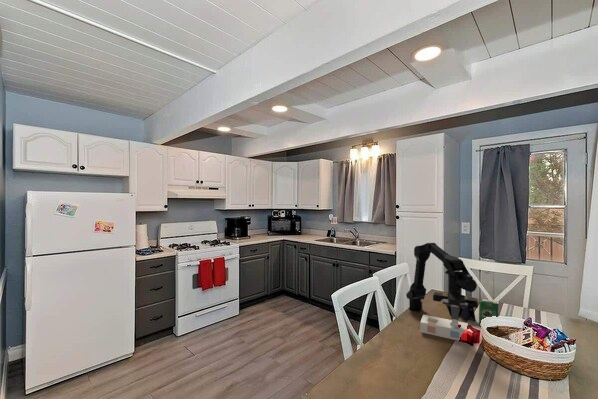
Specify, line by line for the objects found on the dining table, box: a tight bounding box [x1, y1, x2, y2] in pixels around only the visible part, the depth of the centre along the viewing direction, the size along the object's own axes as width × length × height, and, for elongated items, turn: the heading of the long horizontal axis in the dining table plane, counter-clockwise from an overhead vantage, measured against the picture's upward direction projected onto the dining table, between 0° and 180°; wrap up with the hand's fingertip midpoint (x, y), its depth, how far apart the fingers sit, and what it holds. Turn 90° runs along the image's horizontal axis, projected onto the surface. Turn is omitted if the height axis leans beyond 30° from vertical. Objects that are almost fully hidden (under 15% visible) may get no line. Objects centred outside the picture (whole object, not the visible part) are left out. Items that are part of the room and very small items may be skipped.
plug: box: [450, 305, 460, 324], centre depth 135 cm, size 3×3×8 cm
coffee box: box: [478, 299, 499, 325], centre depth 143 cm, size 8×3×13 cm, turn 70°
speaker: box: [459, 304, 477, 322], centre depth 154 cm, size 8×6×10 cm
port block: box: [419, 314, 469, 342], centre depth 137 cm, size 20×10×5 cm, turn 58°
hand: (455, 317), depth 135 cm, fingers closed on plug, 3 cm apart
